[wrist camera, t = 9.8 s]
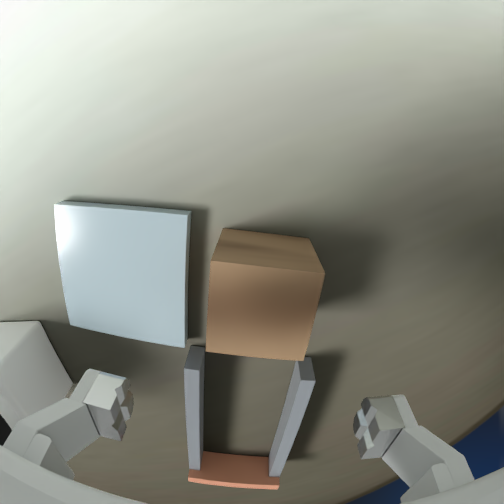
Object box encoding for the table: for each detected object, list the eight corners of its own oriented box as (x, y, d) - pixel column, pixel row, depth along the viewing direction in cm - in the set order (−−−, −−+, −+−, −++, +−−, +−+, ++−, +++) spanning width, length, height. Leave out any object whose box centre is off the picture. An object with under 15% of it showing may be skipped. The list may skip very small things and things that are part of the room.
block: (294, 311, 20) (303, 360, 15) (217, 302, 20) (205, 351, 15) (308, 237, 18) (325, 273, 13) (223, 227, 18) (210, 260, 13)
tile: (187, 339, 21) (184, 347, 20) (76, 318, 21) (70, 324, 20) (191, 211, 18) (187, 215, 17) (62, 201, 17) (54, 204, 16)
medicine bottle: (-4, 320, 21) (-76, 394, 10) (40, 319, 21) (-42, 413, 10) (28, 378, 24) (-26, 456, 13) (75, 383, 23) (19, 480, 12)
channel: (276, 461, 26) (277, 489, 23) (193, 454, 26) (188, 481, 23) (310, 357, 21) (317, 391, 18) (190, 345, 21) (180, 378, 18)
